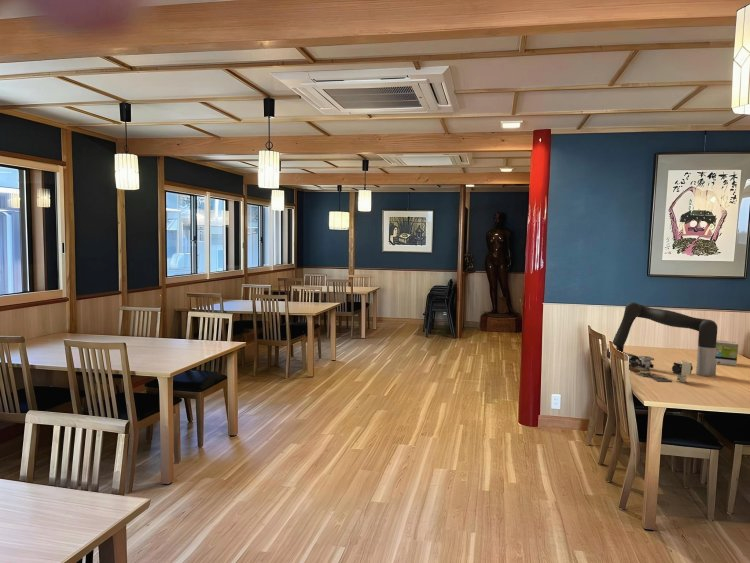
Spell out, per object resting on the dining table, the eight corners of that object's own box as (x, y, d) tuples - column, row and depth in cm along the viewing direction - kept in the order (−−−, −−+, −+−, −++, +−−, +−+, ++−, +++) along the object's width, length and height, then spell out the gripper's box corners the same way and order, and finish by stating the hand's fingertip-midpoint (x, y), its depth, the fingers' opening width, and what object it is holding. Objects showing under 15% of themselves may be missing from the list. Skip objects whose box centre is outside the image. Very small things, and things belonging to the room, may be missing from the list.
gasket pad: (664, 378, 314) (664, 377, 314) (671, 381, 306) (671, 381, 306) (650, 378, 314) (650, 377, 314) (657, 381, 306) (657, 380, 306)
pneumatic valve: (692, 381, 308) (693, 361, 307) (678, 383, 303) (679, 362, 302) (683, 379, 313) (684, 359, 312) (669, 381, 308) (670, 360, 307)
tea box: (710, 363, 359) (711, 341, 357) (707, 360, 368) (708, 339, 367) (736, 366, 353) (738, 343, 352) (733, 363, 362) (734, 341, 361)
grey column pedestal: (647, 374, 323) (648, 356, 322) (652, 376, 317) (654, 358, 316) (637, 374, 323) (638, 355, 322) (642, 376, 317) (643, 358, 316)
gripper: (620, 354, 332) (638, 360, 315) (640, 353, 335) (660, 360, 318) (619, 366, 333) (637, 373, 316) (639, 365, 335) (659, 372, 319)
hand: (648, 366), depth 317 cm, fingers closed on grey column pedestal, 4 cm apart
